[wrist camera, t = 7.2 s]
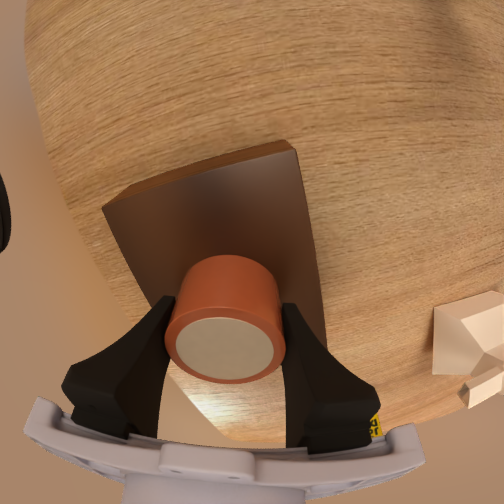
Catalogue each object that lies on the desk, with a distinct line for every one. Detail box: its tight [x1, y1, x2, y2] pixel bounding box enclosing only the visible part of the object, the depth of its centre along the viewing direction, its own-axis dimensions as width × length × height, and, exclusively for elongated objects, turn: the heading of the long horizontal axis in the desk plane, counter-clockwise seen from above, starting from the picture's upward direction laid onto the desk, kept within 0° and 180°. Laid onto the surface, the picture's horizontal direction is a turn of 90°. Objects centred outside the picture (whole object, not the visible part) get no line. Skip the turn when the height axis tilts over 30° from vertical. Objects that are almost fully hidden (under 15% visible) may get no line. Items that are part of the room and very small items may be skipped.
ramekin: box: [164, 255, 286, 384], centre depth 13 cm, size 6×6×4 cm
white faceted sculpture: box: [432, 290, 504, 409], centre depth 16 cm, size 8×14×14 cm, turn 97°
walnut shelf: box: [102, 140, 328, 365], centre depth 17 cm, size 10×14×4 cm
